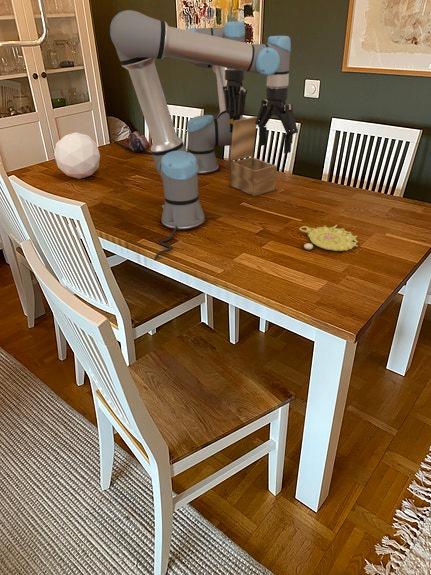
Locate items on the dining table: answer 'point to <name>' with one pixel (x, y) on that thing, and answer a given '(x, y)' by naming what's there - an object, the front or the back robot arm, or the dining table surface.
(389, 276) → the dining table surface
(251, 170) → the chest
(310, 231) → the decorative object
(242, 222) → the dining table surface
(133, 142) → the athletic shoe
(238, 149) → the lid
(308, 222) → the dining table surface
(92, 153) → the sphere
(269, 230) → the dining table surface
